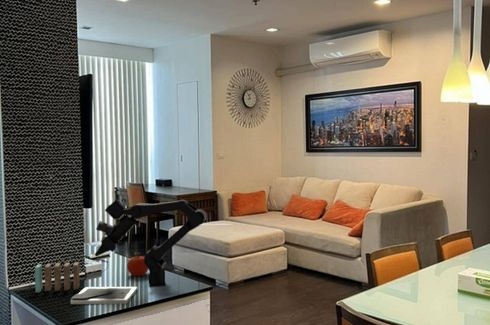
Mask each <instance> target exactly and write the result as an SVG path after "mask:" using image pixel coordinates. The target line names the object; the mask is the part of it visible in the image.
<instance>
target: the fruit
mask: <svg viewBox="0 0 490 325" xmlns="http://www.w3.org/2000/svg"><path fill="white" fill-rule="evenodd" d="M133 253H134V255H135V256H132V257H130V258H129V259H128V260H127V264H126V267H127V271H128V273H129V274H130V275H131V276H134V277H140V276H141V275H142V276H144V275H146V273H147V272H148V271H149V270H148V267H147V266H146V265H145V264H144V258H145V256H140V255H141V252H139V251H136V252H133Z"/></svg>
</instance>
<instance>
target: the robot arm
mask: <svg viewBox="0 0 490 325" xmlns="http://www.w3.org/2000/svg"><path fill="white" fill-rule="evenodd" d="M104 211H105V212H106V213H107V214H108V215H109V216H110V217H111V218H112V219H113V220H114V221H115V220H118V222H117V223H115V224H113V225H111V223H110V224H109V223H107V222H104V221H101V220H100V221H99V222H98V225H97V226H96V229H95V230H97V231H99V232H103V233H104V236H103V237H102V238H101V240H100V243H101V244H100V245H99V247H98V249H97V250H96V252H95V253H94V256H95V257H98V256H100V255H104V254H105V253H108V252H110V251H111V252H112V253H113V252H114V251H115V250H116V249H117V245H118V244H119V242H120V241H121V240H122V239H123V238H124V237H126V235H127V234H128V233H129V231H131V229H133V228H134V226H136V227H137V228H140V227H141V220H140V219H141V218H145V217H148V216H150V215H153V214H161V213H167V212H174V211H180V212H182V213H183V214H184V215H185V216H186V217H187V220H186V221H185V223H184V224H183V225H182V226H181V227H179V229H178V230H176V231H175V232H174V233H173V234H172V235H170V237H169V238H167V239H166V240H165V241H164V242H163V243H162V244H161V245H159V246H157V245H156V244H155V245H154V246H152V248H151V249H149V250H148V251H147V252H146V253H145V254H144V255H145V256H144V257H145V258H144V264H145V265H146V266H147V267H148V270H147V271H149V272H148V273H147V279H148V281H147V282H148V284H149V287H162V286H167V284H166V268H165V267H166V264H167V261H166V260H164V258H163V257H164V256H165V255H166V254H167V252H168V251H169V250H171V249H172V248H173V247H174V246H175V245H176V244H177V243H178V242H180V241H181V240H182V239H183V238H184V237H185V236H186V235H187V234H188V233H190V232H192V230H195V229H196V228H198V227H200V226H201V225H202V224H204V222H205V221H206V219H207V213H206V211H205V210H204V209H202V208H198V207H197V206H195V205H193V204H191V203H190V202H188V201H187V200H186V199H180V200H174V201H167V202H159V203H146V202H144V203H143V202H138V203H136V204H134V205H132V206H128V207H126V206H124V205H123V203H121V201H120V200H119V199H115V200H114V201H113V202H111V204H109V205H108V206H107V207H106V208H105V210H104ZM138 219H139V220H138Z"/></svg>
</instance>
